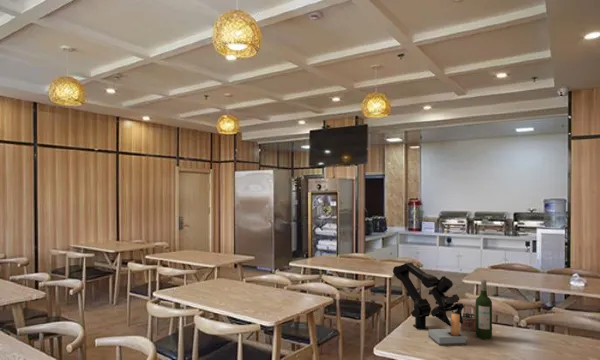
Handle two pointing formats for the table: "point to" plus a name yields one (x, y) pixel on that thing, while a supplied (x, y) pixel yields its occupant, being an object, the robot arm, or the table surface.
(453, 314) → the pin
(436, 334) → the socket block
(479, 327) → the wine bottle
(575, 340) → the table surface
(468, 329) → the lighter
